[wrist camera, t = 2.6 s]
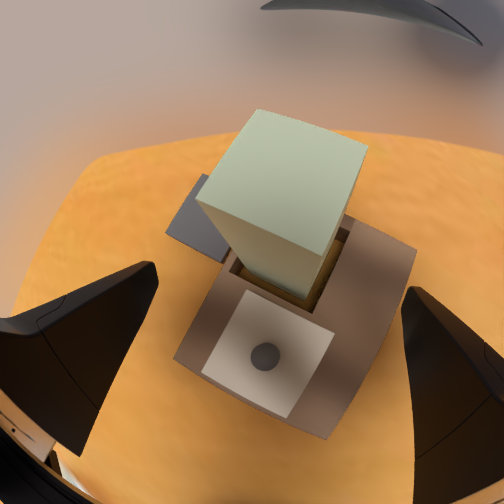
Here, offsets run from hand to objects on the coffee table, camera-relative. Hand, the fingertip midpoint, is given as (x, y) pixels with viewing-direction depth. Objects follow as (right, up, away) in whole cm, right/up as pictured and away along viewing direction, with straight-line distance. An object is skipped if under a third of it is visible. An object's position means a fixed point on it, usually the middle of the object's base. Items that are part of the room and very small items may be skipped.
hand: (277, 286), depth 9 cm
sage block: (+2, 0, +11) cm, 11 cm away
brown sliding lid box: (+3, -3, +10) cm, 11 cm away
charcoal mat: (-4, +4, +13) cm, 14 cm away
